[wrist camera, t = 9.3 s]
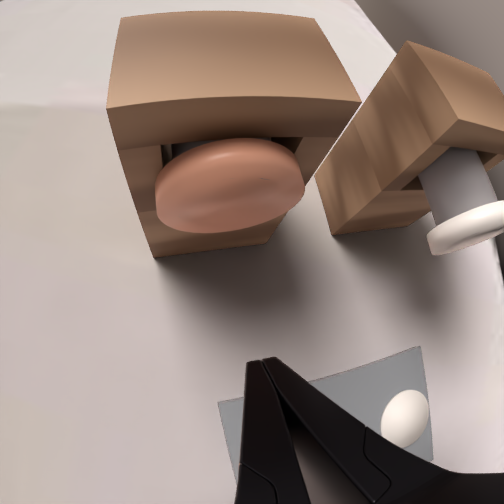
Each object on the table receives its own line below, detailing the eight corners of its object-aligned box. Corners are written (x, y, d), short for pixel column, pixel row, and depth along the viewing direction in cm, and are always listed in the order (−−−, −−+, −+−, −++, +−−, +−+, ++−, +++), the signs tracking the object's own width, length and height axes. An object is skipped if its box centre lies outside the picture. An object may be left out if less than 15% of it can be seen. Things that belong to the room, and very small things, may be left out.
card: (427, 457, 15) (435, 460, 14) (248, 527, 12) (251, 534, 12) (414, 346, 17) (422, 346, 16) (217, 402, 14) (218, 404, 14)
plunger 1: (282, 225, 12) (327, 161, 8) (162, 239, 11) (149, 174, 7) (249, 94, 14) (270, 20, 10) (154, 100, 13) (150, 21, 9)
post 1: (265, 243, 17) (361, 102, 7) (153, 257, 16) (106, 108, 6) (252, 178, 18) (314, 18, 8) (148, 189, 17) (120, 17, 7)
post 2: (407, 226, 20) (529, 139, 9) (331, 235, 18) (458, 118, 8) (389, 173, 21) (488, 73, 10) (314, 175, 19) (406, 40, 9)
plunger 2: (469, 248, 14) (532, 216, 10) (412, 260, 13) (484, 223, 9) (426, 137, 15) (471, 91, 11) (366, 131, 14) (411, 73, 10)
